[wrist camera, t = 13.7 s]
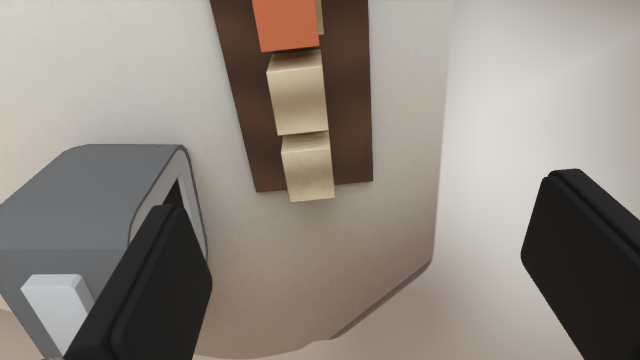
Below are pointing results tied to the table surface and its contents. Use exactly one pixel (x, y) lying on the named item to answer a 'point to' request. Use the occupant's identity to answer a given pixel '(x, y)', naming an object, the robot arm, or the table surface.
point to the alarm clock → (83, 230)
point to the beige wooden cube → (308, 166)
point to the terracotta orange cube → (286, 24)
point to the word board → (339, 82)
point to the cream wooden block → (297, 92)
